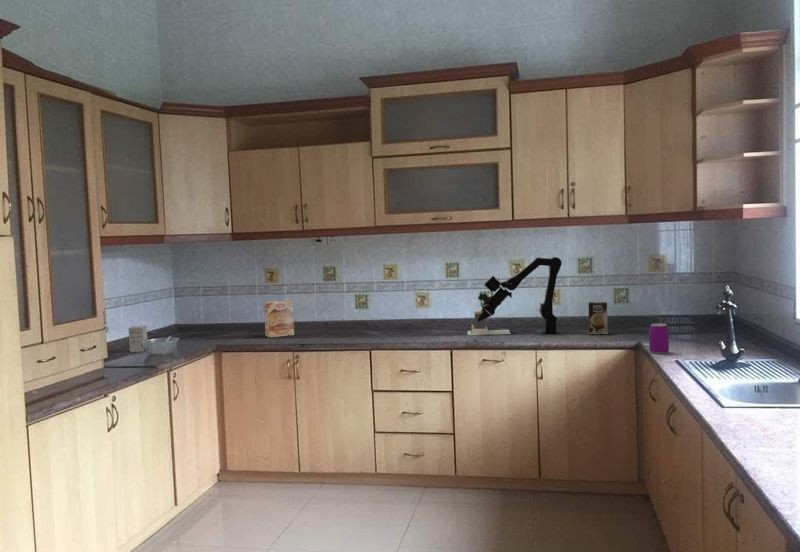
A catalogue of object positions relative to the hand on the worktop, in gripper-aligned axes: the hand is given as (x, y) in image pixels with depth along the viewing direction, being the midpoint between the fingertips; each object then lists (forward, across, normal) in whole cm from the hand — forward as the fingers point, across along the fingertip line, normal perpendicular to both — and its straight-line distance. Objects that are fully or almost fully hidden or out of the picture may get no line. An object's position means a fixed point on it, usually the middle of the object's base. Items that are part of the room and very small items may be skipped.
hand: (477, 319), depth 362 cm
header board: (+2, 0, +10) cm, 10 cm away
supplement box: (+129, +21, -118) cm, 177 cm away
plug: (+4, 0, +6) cm, 7 cm away
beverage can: (-47, +63, +59) cm, 98 cm away
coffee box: (-37, +8, +48) cm, 61 cm away
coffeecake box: (+84, -18, -73) cm, 113 cm away
